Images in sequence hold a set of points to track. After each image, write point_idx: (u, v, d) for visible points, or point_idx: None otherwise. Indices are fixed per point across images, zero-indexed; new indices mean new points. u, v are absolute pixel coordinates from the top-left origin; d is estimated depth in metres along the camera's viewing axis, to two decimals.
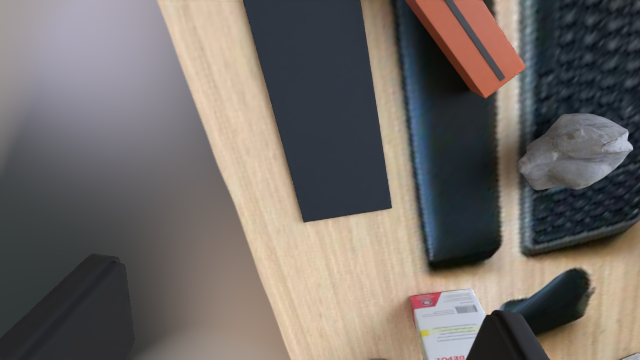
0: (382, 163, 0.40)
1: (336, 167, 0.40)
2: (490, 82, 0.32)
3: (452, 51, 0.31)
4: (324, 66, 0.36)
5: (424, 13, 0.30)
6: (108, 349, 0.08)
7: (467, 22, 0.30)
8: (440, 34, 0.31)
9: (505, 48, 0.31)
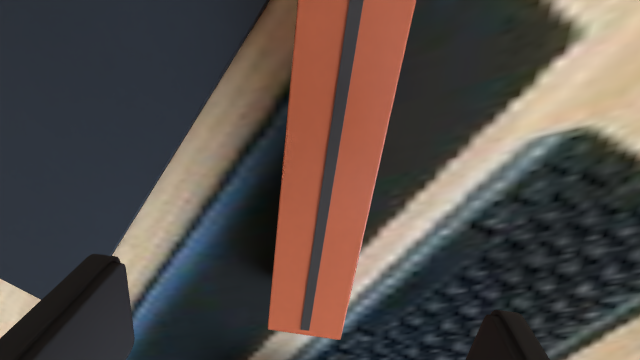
0: None
1: (24, 214, 0.22)
2: (288, 319, 0.19)
3: (276, 250, 0.18)
4: (107, 78, 0.18)
5: (282, 174, 0.16)
6: (108, 349, 0.08)
7: (324, 238, 0.17)
8: (279, 218, 0.17)
9: (338, 304, 0.19)
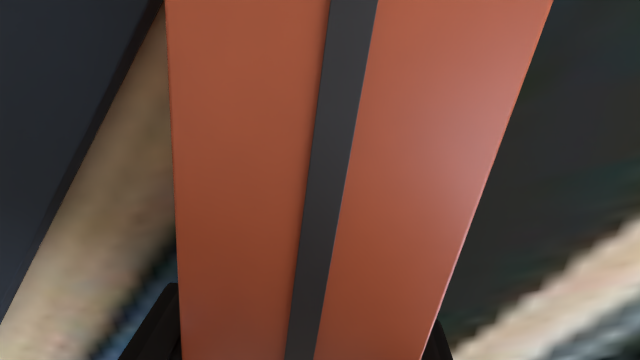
0: None
1: None
2: None
3: None
4: None
5: None
6: None
7: None
8: None
9: None
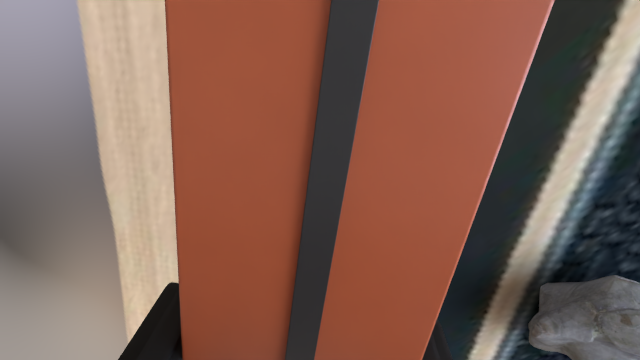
0: None
1: None
2: None
3: None
4: None
5: None
6: None
7: None
8: None
9: None
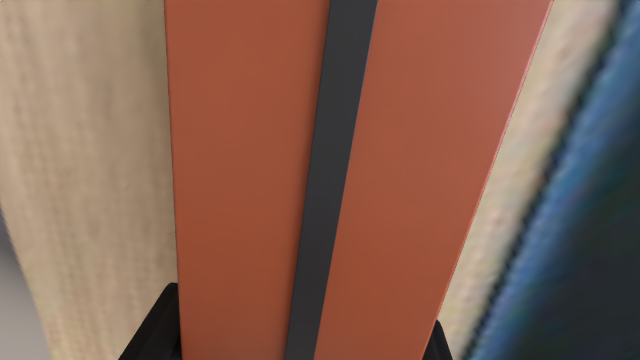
0: None
1: None
2: None
3: None
4: None
5: None
6: None
7: None
8: None
9: None
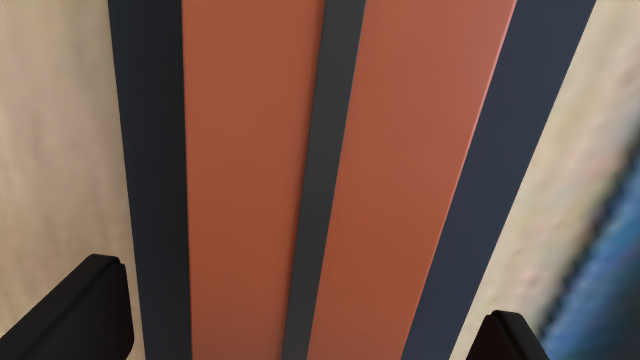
0: None
1: None
2: None
3: None
4: None
5: None
6: (108, 349, 0.08)
7: None
8: None
9: None
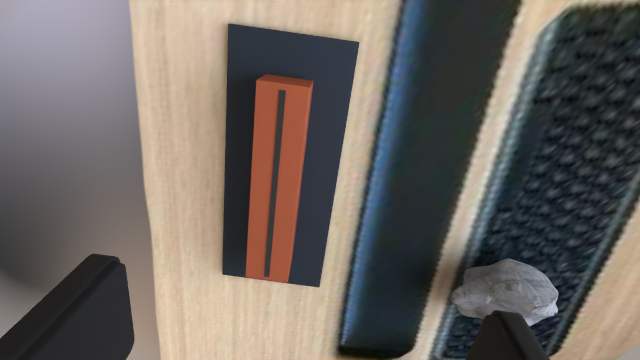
0: (323, 243, 0.37)
1: None
2: (257, 270, 0.34)
3: (248, 228, 0.32)
4: None
5: (251, 187, 0.30)
6: (108, 349, 0.08)
7: (274, 221, 0.32)
8: (249, 211, 0.31)
9: (284, 260, 0.33)
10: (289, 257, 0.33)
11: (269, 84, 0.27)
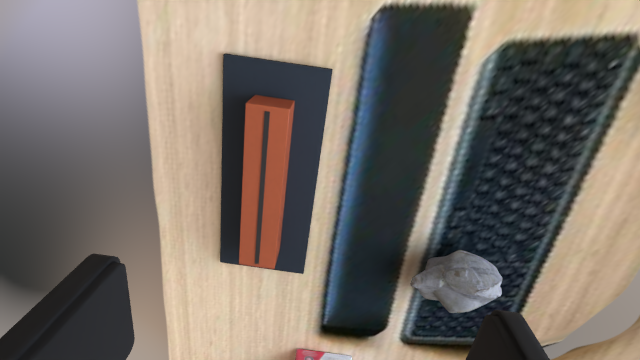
0: (306, 235, 0.43)
1: None
2: (248, 258, 0.40)
3: (241, 223, 0.38)
4: None
5: (242, 189, 0.37)
6: (108, 349, 0.08)
7: (262, 217, 0.38)
8: (241, 208, 0.38)
9: (271, 249, 0.40)
10: (275, 247, 0.39)
11: (256, 106, 0.33)
